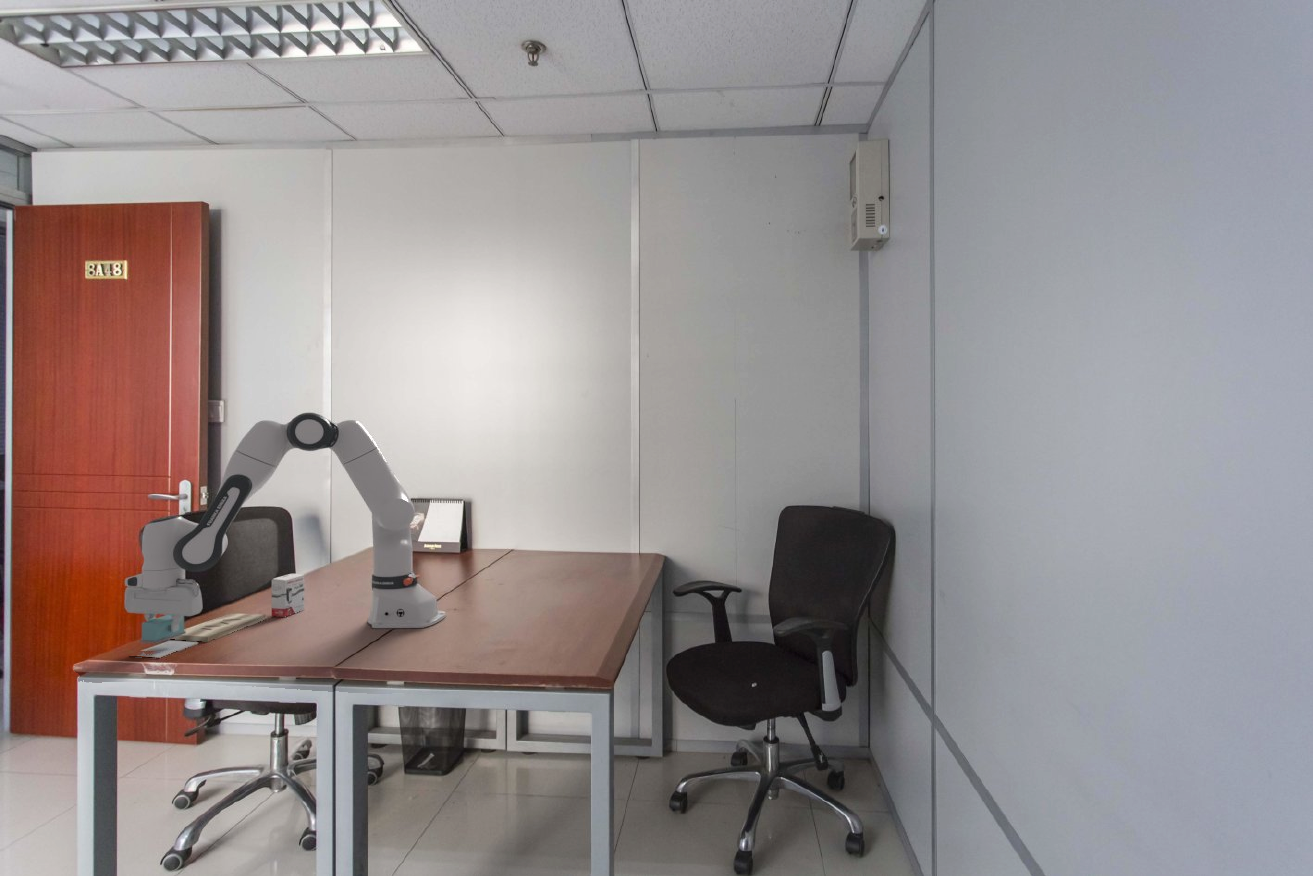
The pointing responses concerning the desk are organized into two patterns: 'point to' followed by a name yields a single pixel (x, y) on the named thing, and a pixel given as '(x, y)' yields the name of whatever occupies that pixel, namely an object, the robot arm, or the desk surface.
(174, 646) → the rest mat
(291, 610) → the ink box
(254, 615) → the birch board
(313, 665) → the desk surface
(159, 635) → the sanding block
